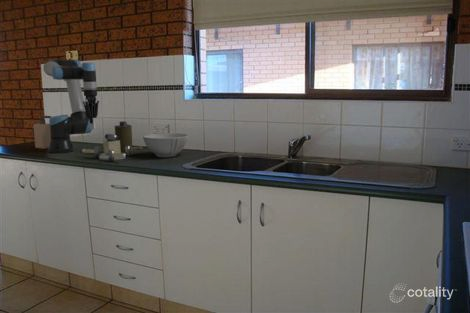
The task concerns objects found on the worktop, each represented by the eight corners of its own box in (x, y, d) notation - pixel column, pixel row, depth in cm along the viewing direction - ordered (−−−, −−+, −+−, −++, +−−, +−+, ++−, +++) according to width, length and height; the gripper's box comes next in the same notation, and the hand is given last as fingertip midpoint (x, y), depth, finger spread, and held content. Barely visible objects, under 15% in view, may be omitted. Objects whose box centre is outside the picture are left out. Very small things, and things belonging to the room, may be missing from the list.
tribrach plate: (94, 158, 248) (92, 134, 246) (118, 155, 258) (116, 132, 256) (106, 161, 237) (105, 136, 235) (130, 158, 247) (129, 134, 245)
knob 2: (126, 156, 252) (126, 146, 251) (124, 155, 255) (123, 145, 254) (144, 153, 260) (143, 144, 259) (141, 153, 263) (140, 143, 262)
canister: (128, 155, 258) (127, 122, 254) (112, 154, 260) (111, 122, 256) (136, 152, 268) (134, 120, 265) (121, 152, 270) (119, 120, 267)
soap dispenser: (35, 147, 294) (32, 115, 290) (46, 146, 301) (43, 115, 298) (47, 148, 288) (44, 116, 284) (58, 147, 295) (55, 115, 291)
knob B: (101, 156, 252) (100, 146, 251) (98, 157, 249) (97, 147, 248) (84, 156, 255) (83, 146, 254) (81, 156, 252) (80, 146, 251)
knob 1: (107, 160, 237) (106, 150, 236) (111, 160, 240) (111, 149, 239) (123, 162, 232) (122, 151, 231) (127, 161, 235) (126, 150, 234)
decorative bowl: (187, 158, 243) (187, 137, 241) (140, 159, 242) (139, 138, 240) (190, 151, 269) (189, 132, 267) (147, 152, 268) (146, 133, 266)
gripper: (91, 89, 260) (94, 127, 264) (77, 89, 247) (80, 129, 251) (102, 89, 258) (104, 127, 261) (88, 89, 245) (91, 129, 249)
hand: (92, 128), depth 256 cm, fingers closed
